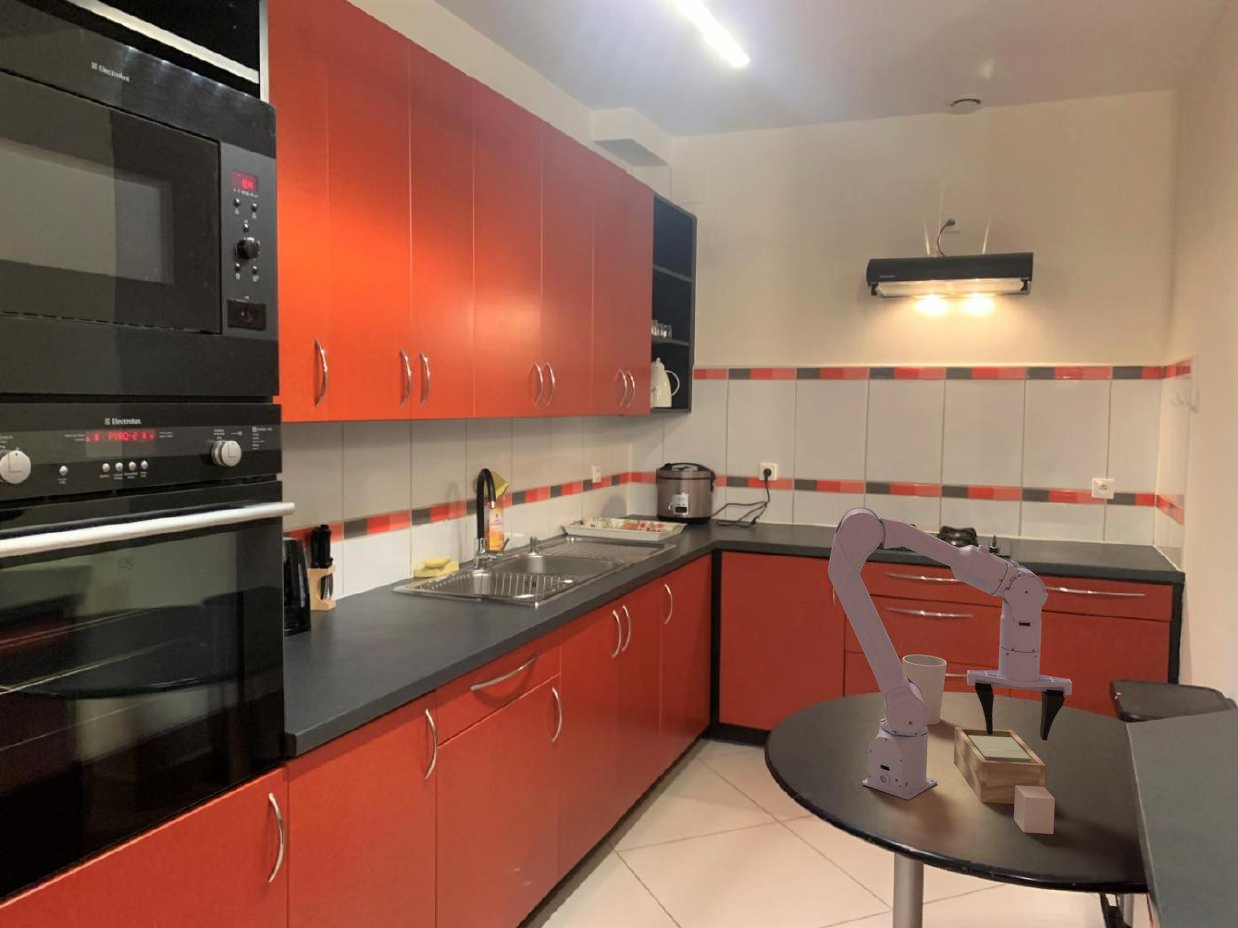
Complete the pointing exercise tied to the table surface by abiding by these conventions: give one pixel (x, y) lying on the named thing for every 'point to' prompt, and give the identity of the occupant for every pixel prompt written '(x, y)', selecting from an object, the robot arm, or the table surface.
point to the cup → (928, 681)
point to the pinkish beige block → (1034, 809)
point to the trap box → (995, 767)
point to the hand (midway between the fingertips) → (1016, 735)
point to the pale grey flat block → (999, 749)
